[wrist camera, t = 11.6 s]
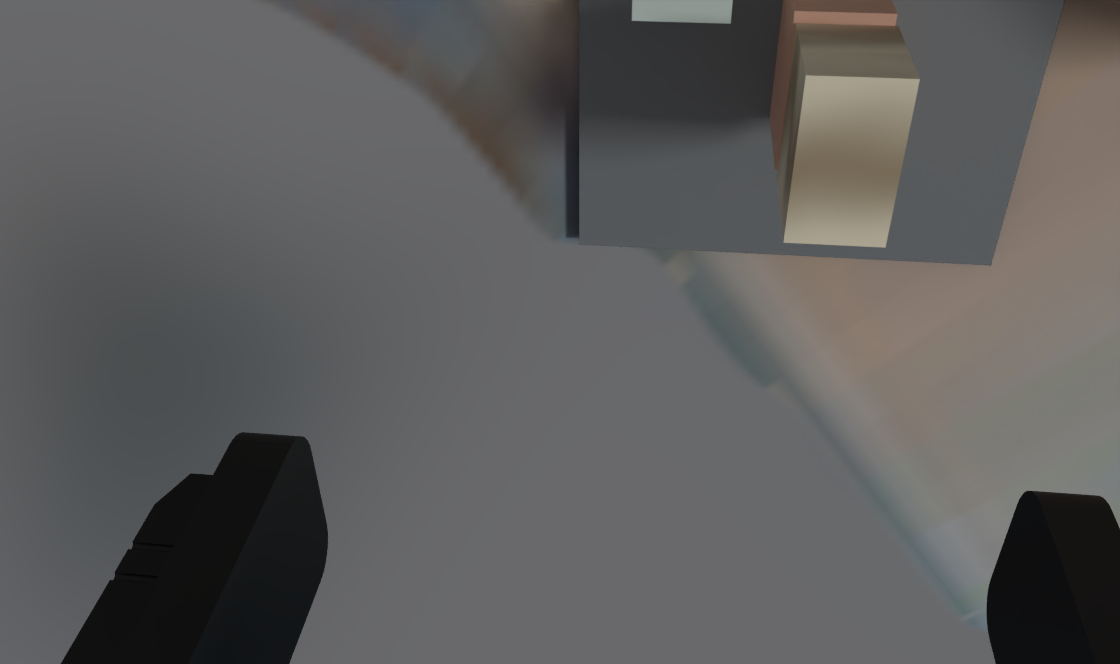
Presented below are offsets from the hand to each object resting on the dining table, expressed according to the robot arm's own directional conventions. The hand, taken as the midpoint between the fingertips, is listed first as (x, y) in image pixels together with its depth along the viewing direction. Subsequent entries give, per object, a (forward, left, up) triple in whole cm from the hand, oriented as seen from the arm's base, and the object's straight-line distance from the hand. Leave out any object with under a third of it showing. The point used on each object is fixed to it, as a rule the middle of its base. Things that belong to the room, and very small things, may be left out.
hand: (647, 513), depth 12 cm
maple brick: (+7, +6, -27) cm, 28 cm away
